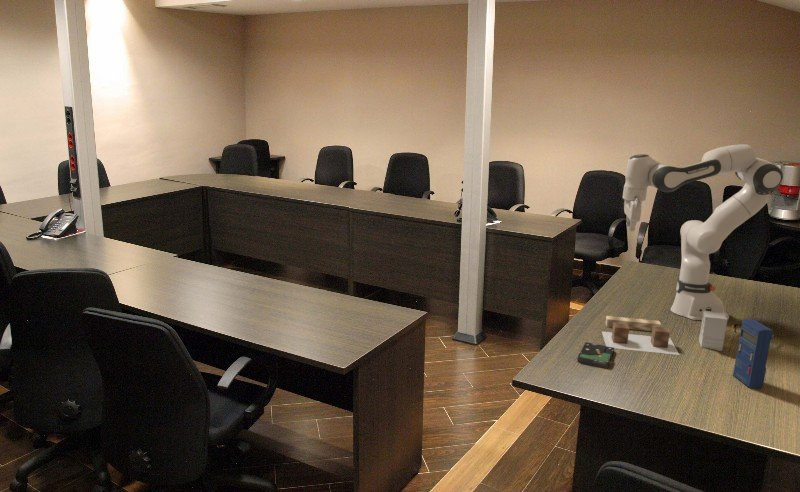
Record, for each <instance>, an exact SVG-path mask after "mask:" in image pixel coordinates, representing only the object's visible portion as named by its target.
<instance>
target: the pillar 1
mask: <svg viewBox="0 0 800 492" xmlns="http://www.w3.org/2000/svg"><path fill="white" fill-rule="evenodd" d="M611 332H612V340H613V343H623V344H627V342H628V335H629V334H630V333H629V332H630V329H629V327H628V324H623V323H613V327H612V330H611Z"/></svg>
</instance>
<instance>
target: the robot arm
mask: <svg viewBox="0 0 800 492" xmlns="http://www.w3.org/2000/svg"><path fill="white" fill-rule="evenodd" d="M730 174H735V176H736V177H737V178H738V180H740V181H742V182H744V185H743V187H742V188H741V189H740V190H739V191H738V192H736V193H734V194H733V195H732V196H731V197H729V198H727V199H726V200H725V201H723V202H722V203H720V205H718V206H717V207H715V209H714V210H713V212H712V213H711V215H710V216H709V217H708V218H707V219H706V220H705V221H704V222H703V221H701V220H698V219H697V220H695V219H694V220H693V219H692V220H688V221H685V222H684V223H683V224H682V225H681V228H680V232H679V233H680V239H681V240H680V243H681V245H680V246H681V249H680V250H681V252H680V253H681V262H680V263H681V265H680V269H679V270H680V271H679V277H678V279H677V282H676V288H675V289H676V294H675V297H674V301H673V303H672V304H671V307H670V311H671V312H672V313H674V314H675V315H678V316H681V317H685V318H688V319H689V320H694V321H702V317H703V311H711V312H719V313H724V314H725V316H726V318H727V322H728V321H729V319H730V316H729V314H728V313H727V312H726V311H725V309H724V303H723V301H722V300H721V299H720V298H719V297H718V296H717V295H716V294H715V293H714V292H715V291H716V288H717V287H715V285H713V284H712V283H710V282H709V276H710V271H711V270H710V269H711V261H710V254H714V253H716V252H717V251H718V250H719V249H720V248H721V246H722V244H723V242H724V240H726V239H727V238H728V236H730V234H731V233H732V232H733V231H734V230H735V229H737V228H738V227H739V226H741V225H742V224H744V223H745V222H746V221H747V220H749V219H750V218H752V217H753V216H754V215H756V214H757V213H758V212H760V211H761V209H763V208H764V207H765V205H766V204H767V203H769V201H770V194H772V193H773V192H774V191H775V190H776V189H777V188H778V187H779V186H780V185H781V183H782V181H783V179H784V173H783V171H782V169H780V167H779V166H777V164H774V163H772V162H770V161H769V160H766V159H762V158H760V157H757V156H756V151H755V149H754V148H753V147H752V146H751V145H750V144H746V143H745V144H744V143H743V144H741V143H740V144H739V143H738V144H731V145H730V144H729V145H725V146H721V147H717V148H713V149H711V150H709V151H706V152H705V153H704V154H703V156H702V158H701V161H700V162H698V163H694V164H693V163H692V164H689V165H686V166H683V167H677V166H676V167H675V166H671V165H667V164H664V163H661V162H659V161H656V160H655V159H654V158H652V156H650V155H649V154H645V153H643V154H635V155H632V156H631V157H629V158H628V160H627V164H626V169H625V174H624V175H625V177H624V178H625V183H624V185H623V190H622V191H623V192H622V199H623V200H624V201H623V211H624V214H625V215H626V222H625V223H626V226H627V227H629V231H630V232H635V230H636V225H637V223H639V222H640V221H641V217H642V216H641V215H642V204H643V202H644V201H647V194H648V193H647V192H648V187H653V188H656V189H657V190H658V191H660V192H663V193H672V192H675V191H677V190H678V189H680V188H681V187H683V186H684V185H687V184H689V183H693V182H696V181H697V182H698V181H699V180H704V179H707V178H711V177H714V178H715V177H721V176H725V175H730Z"/></svg>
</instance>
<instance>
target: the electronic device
mask: <svg viewBox="0 0 800 492" xmlns="http://www.w3.org/2000/svg"><path fill="white" fill-rule="evenodd" d="M741 325H742V326H741V328H740V333H739V340H738V343H737V344H738V346H737V349H736V350H737V351H736V357H735V361H734V362H735V363H734V368H733V372H732V373H733V374H732V376H733V377H734V378H736V379H738V381H740V382H741V383H743V384H744V385H746V387H748V388H750V389H751V390H752V389H753V390H755V389H762V388H763V387H764V383H765V379H766V378H765V377H766V373H767V361H768V357H769V356H768V355H769V351H770V347H771V341H772V339H773V337H774V336H773V334H774V330H773V329H771V328H770V327H767V325H764V324H763V323H761V322H759V321H757V320H756V319H752V318H751V319H743V320H742V323H741ZM772 336H773V337H772Z"/></svg>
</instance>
